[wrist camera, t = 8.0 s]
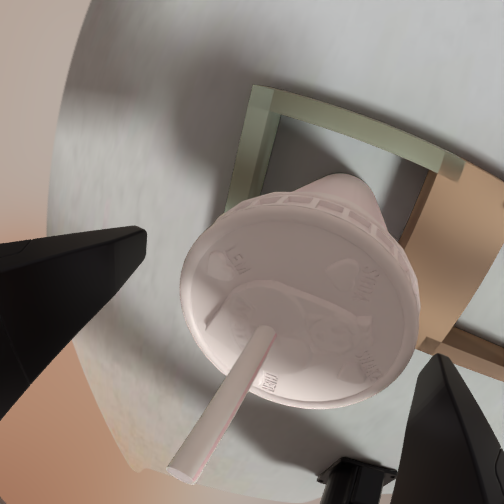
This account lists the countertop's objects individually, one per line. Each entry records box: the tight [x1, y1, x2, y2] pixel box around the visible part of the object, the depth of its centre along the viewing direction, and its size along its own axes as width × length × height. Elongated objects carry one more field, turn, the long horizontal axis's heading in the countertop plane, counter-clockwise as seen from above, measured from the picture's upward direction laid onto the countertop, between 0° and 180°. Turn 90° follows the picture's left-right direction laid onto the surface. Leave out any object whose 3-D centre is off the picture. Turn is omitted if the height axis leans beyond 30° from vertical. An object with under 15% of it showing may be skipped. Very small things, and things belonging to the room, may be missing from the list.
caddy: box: [224, 85, 504, 382], centre depth 14 cm, size 10×22×2 cm, turn 75°
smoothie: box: [166, 173, 421, 484], centre depth 10 cm, size 6×6×14 cm
